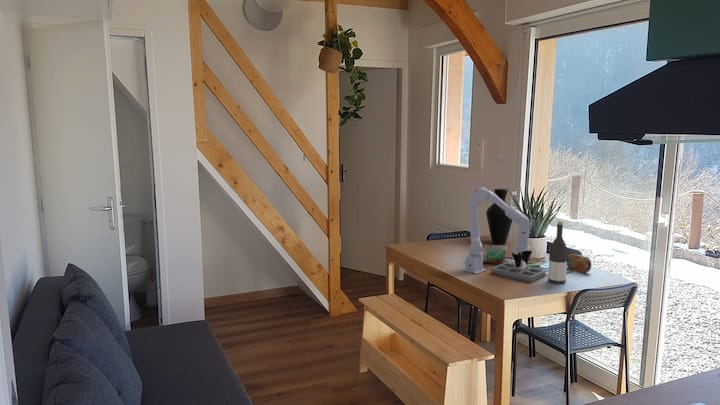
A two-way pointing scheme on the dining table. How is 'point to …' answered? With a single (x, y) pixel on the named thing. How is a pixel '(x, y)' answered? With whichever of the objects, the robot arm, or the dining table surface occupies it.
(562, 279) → the wine bottle
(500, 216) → the vase
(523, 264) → the egg
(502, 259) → the food container
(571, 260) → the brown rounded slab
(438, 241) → the dining table surface
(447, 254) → the dining table surface
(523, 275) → the grey compartment tray
